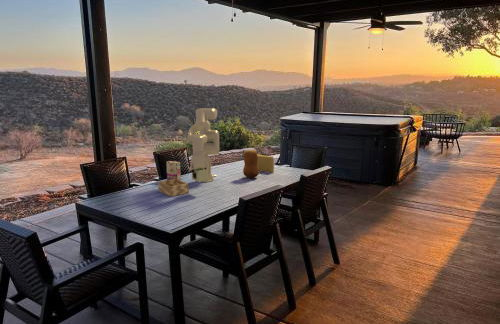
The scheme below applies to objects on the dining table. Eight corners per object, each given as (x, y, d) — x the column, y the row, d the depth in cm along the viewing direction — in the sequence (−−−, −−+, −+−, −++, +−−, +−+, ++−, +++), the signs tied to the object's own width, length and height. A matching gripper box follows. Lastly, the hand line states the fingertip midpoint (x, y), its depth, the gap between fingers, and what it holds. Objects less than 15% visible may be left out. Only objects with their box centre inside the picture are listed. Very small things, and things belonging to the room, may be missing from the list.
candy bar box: (181, 181, 293) (180, 161, 290) (177, 182, 289) (176, 162, 286) (170, 179, 298) (169, 160, 295) (166, 181, 294) (165, 161, 291)
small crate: (199, 177, 262) (198, 167, 260) (206, 180, 254) (205, 169, 253) (191, 179, 258) (191, 168, 257) (198, 182, 251) (198, 171, 249)
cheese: (276, 172, 330) (277, 156, 327) (270, 173, 323) (270, 157, 320) (258, 168, 344) (259, 153, 342) (252, 170, 337) (252, 154, 335)
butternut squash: (252, 175, 315) (252, 147, 310) (262, 178, 305) (262, 149, 300) (239, 177, 307) (239, 149, 302) (249, 180, 296) (249, 151, 292)
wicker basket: (176, 187, 273) (176, 178, 272) (188, 193, 259) (188, 183, 257) (158, 190, 264) (158, 181, 263) (169, 196, 250) (169, 187, 248)
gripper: (205, 151, 260) (206, 174, 264) (184, 153, 250) (185, 178, 254) (211, 152, 255) (211, 176, 258) (189, 155, 244) (190, 180, 248)
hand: (198, 177), depth 256 cm, fingers closed on small crate, 6 cm apart
